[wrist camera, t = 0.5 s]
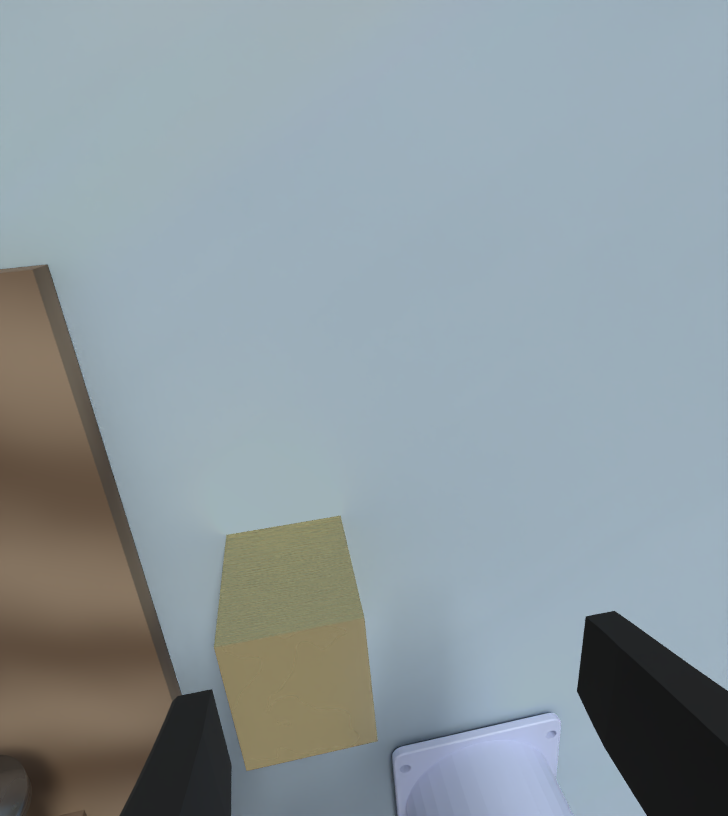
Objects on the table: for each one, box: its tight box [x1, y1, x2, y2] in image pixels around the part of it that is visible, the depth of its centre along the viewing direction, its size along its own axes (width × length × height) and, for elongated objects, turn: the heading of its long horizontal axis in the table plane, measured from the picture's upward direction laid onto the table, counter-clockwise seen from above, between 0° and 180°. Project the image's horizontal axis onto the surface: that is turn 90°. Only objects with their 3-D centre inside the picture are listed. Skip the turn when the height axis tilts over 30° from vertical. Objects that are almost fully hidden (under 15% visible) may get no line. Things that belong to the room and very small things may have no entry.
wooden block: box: [214, 516, 378, 771], centre depth 17 cm, size 5×4×5 cm
